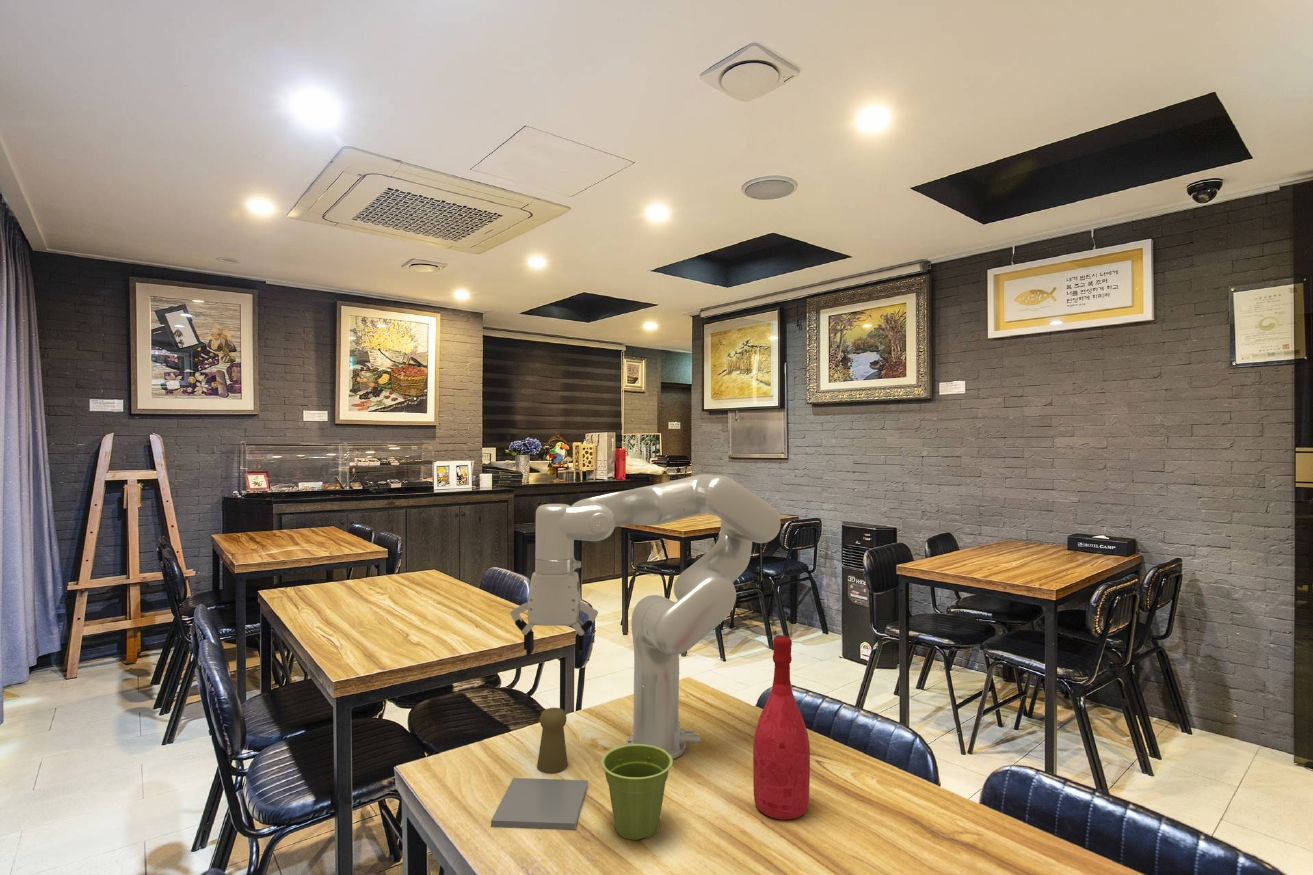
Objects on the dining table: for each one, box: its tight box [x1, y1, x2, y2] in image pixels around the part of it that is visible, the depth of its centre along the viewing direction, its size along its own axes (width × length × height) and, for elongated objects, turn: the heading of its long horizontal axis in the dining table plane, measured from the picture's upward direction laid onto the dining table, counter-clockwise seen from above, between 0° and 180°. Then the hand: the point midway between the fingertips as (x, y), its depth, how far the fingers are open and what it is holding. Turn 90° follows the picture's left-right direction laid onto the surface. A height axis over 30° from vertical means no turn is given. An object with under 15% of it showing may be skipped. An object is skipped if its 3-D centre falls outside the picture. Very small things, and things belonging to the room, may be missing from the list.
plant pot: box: [600, 744, 674, 841], centre depth 107 cm, size 12×12×11 cm
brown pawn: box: [536, 707, 569, 775], centre depth 128 cm, size 6×6×11 cm
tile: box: [490, 777, 589, 831], centre depth 114 cm, size 14×14×1 cm
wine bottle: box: [752, 634, 811, 820], centre depth 114 cm, size 10×10×30 cm
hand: (554, 653), depth 128 cm, fingers open, 9 cm apart
